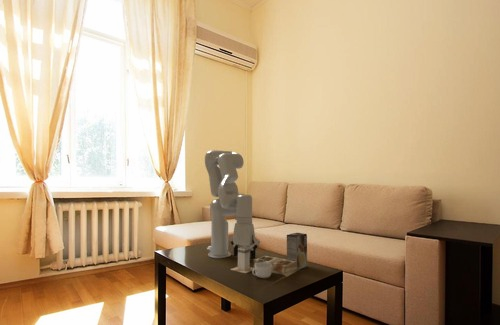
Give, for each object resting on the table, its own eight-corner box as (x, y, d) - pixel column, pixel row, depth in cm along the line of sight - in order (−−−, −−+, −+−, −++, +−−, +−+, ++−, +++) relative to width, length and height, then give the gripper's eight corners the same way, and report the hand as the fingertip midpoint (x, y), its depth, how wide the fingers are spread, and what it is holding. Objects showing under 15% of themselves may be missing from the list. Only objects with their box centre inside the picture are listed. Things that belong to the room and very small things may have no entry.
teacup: (264, 273, 134) (264, 261, 134) (275, 277, 128) (275, 265, 128) (247, 277, 128) (247, 264, 128) (258, 282, 122) (258, 269, 122)
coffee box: (296, 263, 149) (296, 232, 150) (307, 266, 145) (307, 233, 145) (286, 267, 142) (286, 234, 143) (297, 270, 138) (297, 236, 139)
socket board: (253, 269, 139) (253, 258, 139) (264, 264, 147) (264, 254, 148) (286, 277, 128) (286, 265, 129) (296, 271, 137) (297, 260, 137)
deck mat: (230, 270, 137) (230, 269, 137) (241, 266, 144) (241, 265, 144) (245, 274, 131) (245, 273, 131) (256, 269, 139) (256, 268, 139)
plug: (237, 269, 137) (237, 247, 138) (242, 267, 140) (243, 246, 141) (244, 270, 135) (244, 249, 135) (249, 268, 138) (249, 247, 139)
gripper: (225, 220, 141) (225, 256, 139) (254, 222, 131) (254, 261, 129) (235, 218, 147) (235, 253, 145) (263, 221, 137) (264, 258, 135)
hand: (244, 257), depth 137 cm, fingers open, 9 cm apart
